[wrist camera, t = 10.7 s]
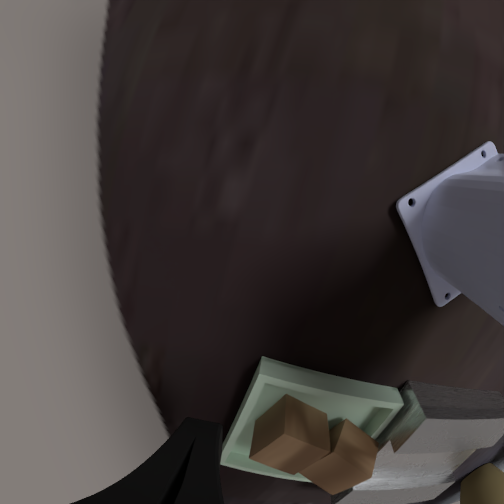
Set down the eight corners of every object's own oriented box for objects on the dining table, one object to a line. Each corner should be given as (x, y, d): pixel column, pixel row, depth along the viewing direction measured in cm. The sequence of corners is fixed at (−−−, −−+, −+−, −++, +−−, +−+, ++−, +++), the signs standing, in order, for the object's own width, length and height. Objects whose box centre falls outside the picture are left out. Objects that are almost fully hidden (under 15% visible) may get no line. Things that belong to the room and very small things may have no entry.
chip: (379, 443, 17) (371, 477, 13) (344, 463, 18) (332, 495, 15) (346, 418, 18) (333, 451, 15) (313, 440, 20) (296, 471, 16)
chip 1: (331, 452, 15) (284, 433, 15) (293, 475, 16) (248, 458, 16) (326, 413, 19) (286, 393, 19) (294, 438, 20) (255, 420, 20)
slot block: (498, 391, 17) (517, 416, 13) (425, 473, 21) (433, 499, 17) (407, 380, 18) (426, 418, 14) (329, 473, 22) (331, 507, 17)
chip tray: (397, 387, 18) (404, 404, 16) (328, 469, 21) (330, 483, 19) (261, 356, 19) (259, 373, 17) (220, 447, 22) (216, 463, 20)
